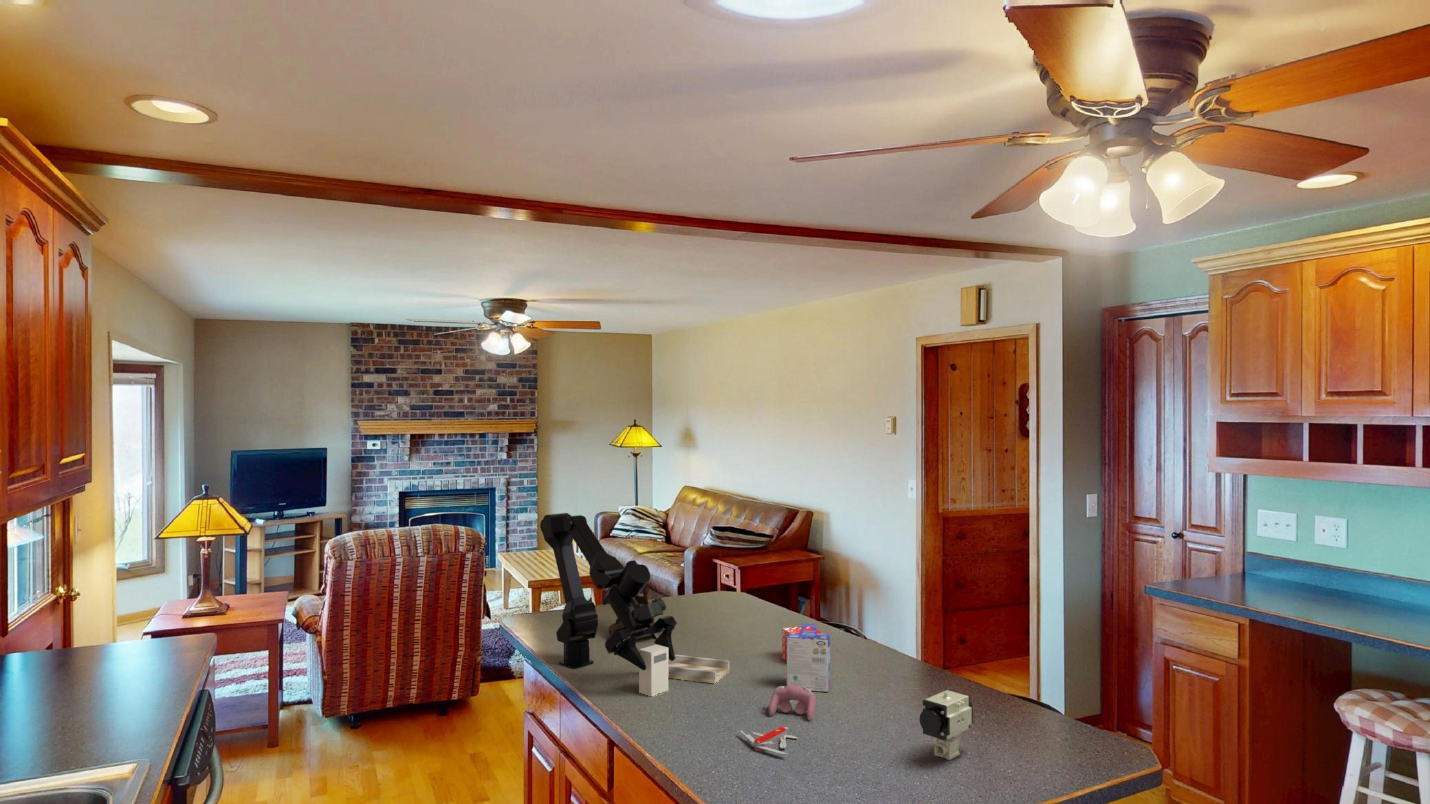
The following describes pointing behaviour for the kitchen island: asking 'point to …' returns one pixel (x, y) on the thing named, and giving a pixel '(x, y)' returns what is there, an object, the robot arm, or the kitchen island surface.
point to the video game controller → (793, 693)
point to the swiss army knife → (769, 740)
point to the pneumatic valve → (946, 720)
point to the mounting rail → (697, 668)
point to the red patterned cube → (785, 634)
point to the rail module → (654, 670)
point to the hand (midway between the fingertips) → (659, 664)
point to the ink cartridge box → (808, 659)
